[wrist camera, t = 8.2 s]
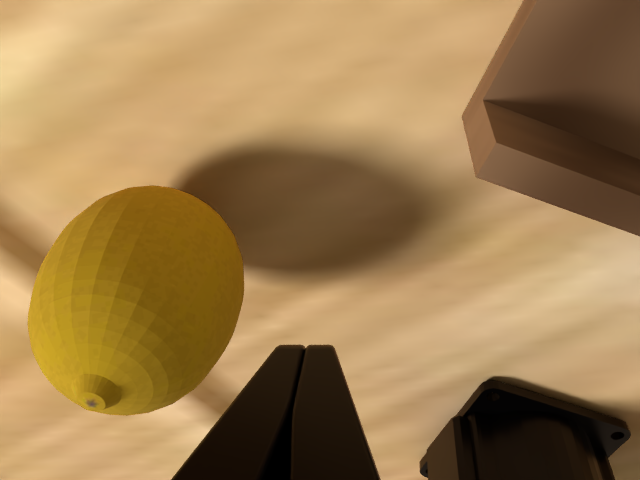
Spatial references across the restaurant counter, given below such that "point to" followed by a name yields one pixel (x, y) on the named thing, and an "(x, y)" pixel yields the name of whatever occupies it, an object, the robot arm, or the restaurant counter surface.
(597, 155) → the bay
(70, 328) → the lemon
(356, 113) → the restaurant counter surface
